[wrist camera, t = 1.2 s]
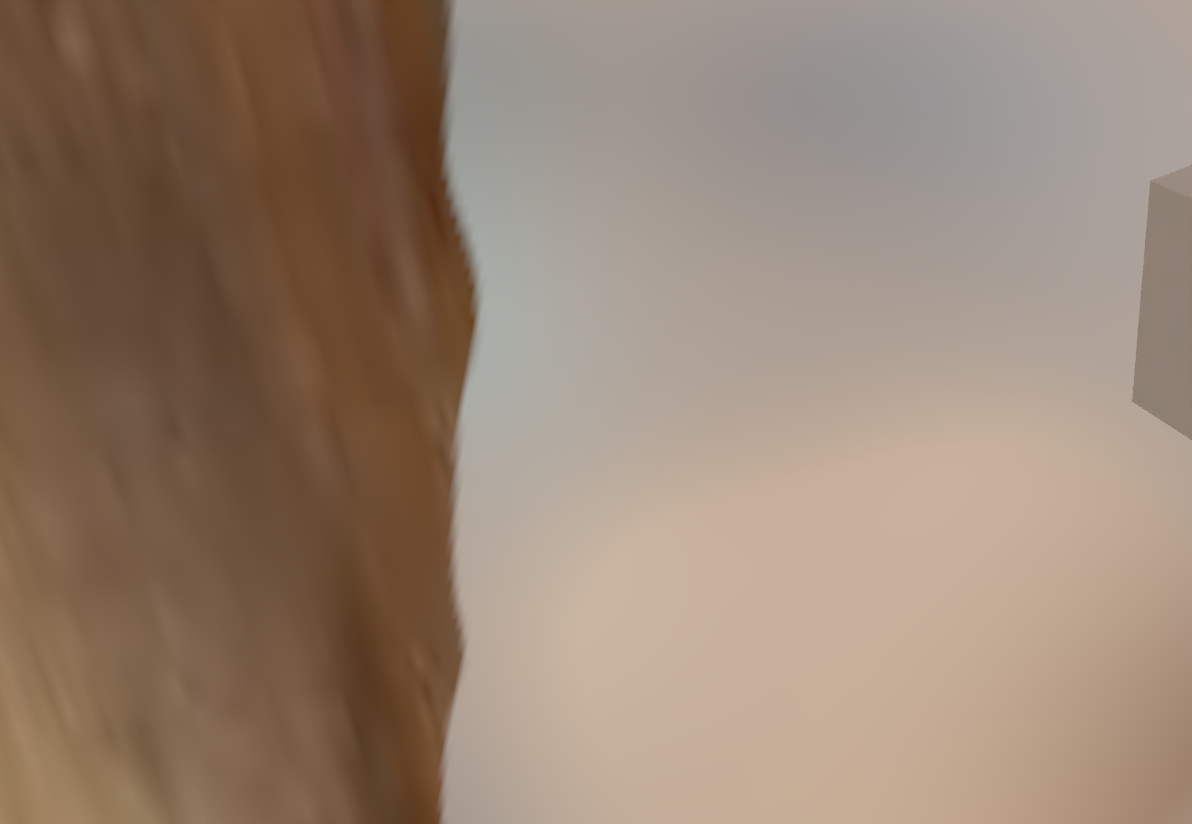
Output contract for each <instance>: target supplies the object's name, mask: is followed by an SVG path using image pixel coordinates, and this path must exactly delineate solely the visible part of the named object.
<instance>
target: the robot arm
mask: <svg viewBox="0 0 1192 824" xmlns="http://www.w3.org/2000/svg"><path fill="white" fill-rule="evenodd" d="M1132 402H1134V403H1135V404H1137V405H1138V406H1140V407H1142V408H1143V409H1145V410H1146V411H1148V412H1149V413H1151V414H1152V415H1154V416H1155V417H1157V418H1159V419H1160V420H1162V421H1163V422H1165V423H1166V424H1168V425H1169V426H1171V427H1172V428H1174V429H1176V430H1177V431H1179V432H1180V433H1182V434H1183V435H1185V436H1186V437H1188V438H1190V439H1191V440H1192V165H1191V166H1188V167H1186V168H1183V169H1180V170H1178V171H1175V172H1173V173H1170V174H1167V175H1165V176H1162V177H1159V178H1157V179H1154V180H1152V181H1150V192H1149V204H1148V216H1147V228H1146V240H1145V252H1144V265H1143V278H1142V290H1141V301H1140V314H1139V326H1138V338H1137V350H1136V362H1135V374H1134V387H1133V399H1132Z"/></svg>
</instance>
